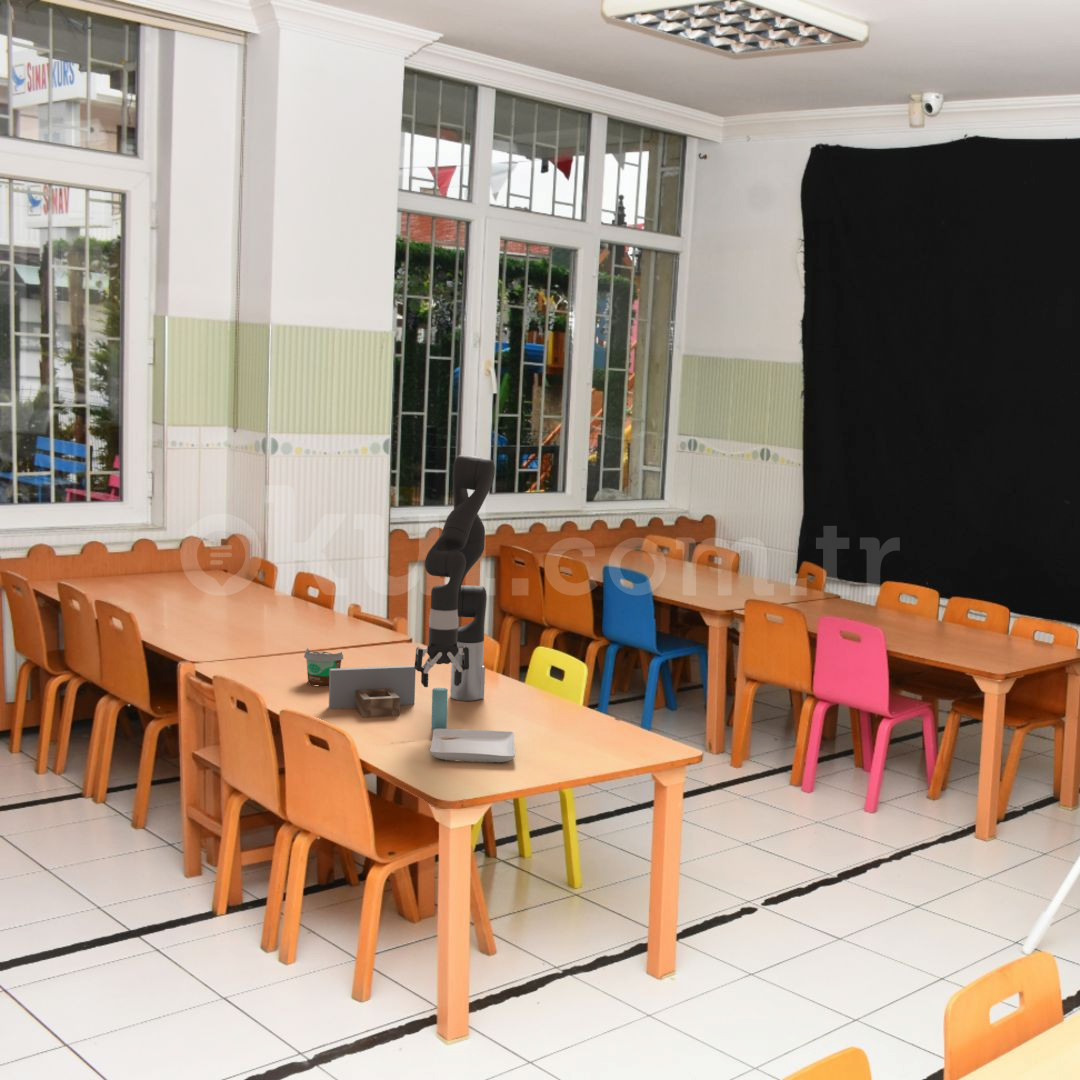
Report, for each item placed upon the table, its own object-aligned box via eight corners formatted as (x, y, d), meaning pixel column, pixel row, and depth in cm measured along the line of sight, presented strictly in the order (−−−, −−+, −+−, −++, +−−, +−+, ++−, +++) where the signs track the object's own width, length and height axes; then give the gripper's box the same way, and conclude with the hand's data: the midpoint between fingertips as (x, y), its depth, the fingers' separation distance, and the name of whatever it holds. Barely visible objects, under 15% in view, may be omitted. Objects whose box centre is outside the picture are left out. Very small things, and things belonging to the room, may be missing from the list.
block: (390, 705, 366) (391, 688, 365) (399, 715, 356) (399, 697, 356) (355, 707, 362) (355, 690, 362) (363, 717, 353) (363, 699, 352)
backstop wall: (412, 706, 370) (413, 665, 369) (414, 708, 369) (415, 666, 367) (328, 710, 362) (329, 668, 360) (330, 712, 360) (331, 670, 358)
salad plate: (513, 742, 342) (514, 729, 341) (514, 768, 321) (515, 754, 320) (432, 739, 341) (433, 727, 340) (428, 765, 320) (429, 751, 319)
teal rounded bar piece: (444, 731, 348) (445, 687, 346) (448, 735, 344) (449, 691, 342) (429, 732, 346) (430, 688, 345) (433, 736, 343) (434, 692, 341)
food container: (296, 684, 389) (296, 651, 387) (305, 680, 394) (306, 647, 393) (333, 689, 385) (334, 656, 384) (342, 684, 391) (343, 652, 389)
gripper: (420, 629, 335) (418, 690, 337) (473, 627, 340) (471, 688, 342) (413, 623, 342) (411, 683, 344) (465, 622, 347) (462, 681, 349)
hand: (441, 685), depth 343 cm, fingers open, 8 cm apart
